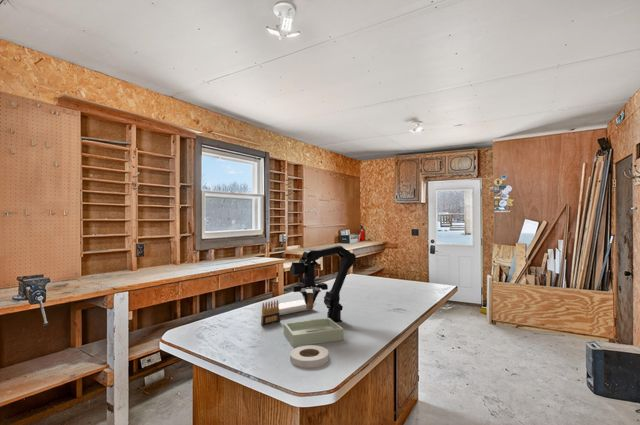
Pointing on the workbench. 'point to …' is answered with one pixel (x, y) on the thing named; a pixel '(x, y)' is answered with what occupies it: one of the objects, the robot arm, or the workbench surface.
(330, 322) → the box
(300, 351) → the roll of tape
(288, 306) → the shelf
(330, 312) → the robot arm
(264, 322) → the ammunition clip
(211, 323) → the workbench surface
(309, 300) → the peg
